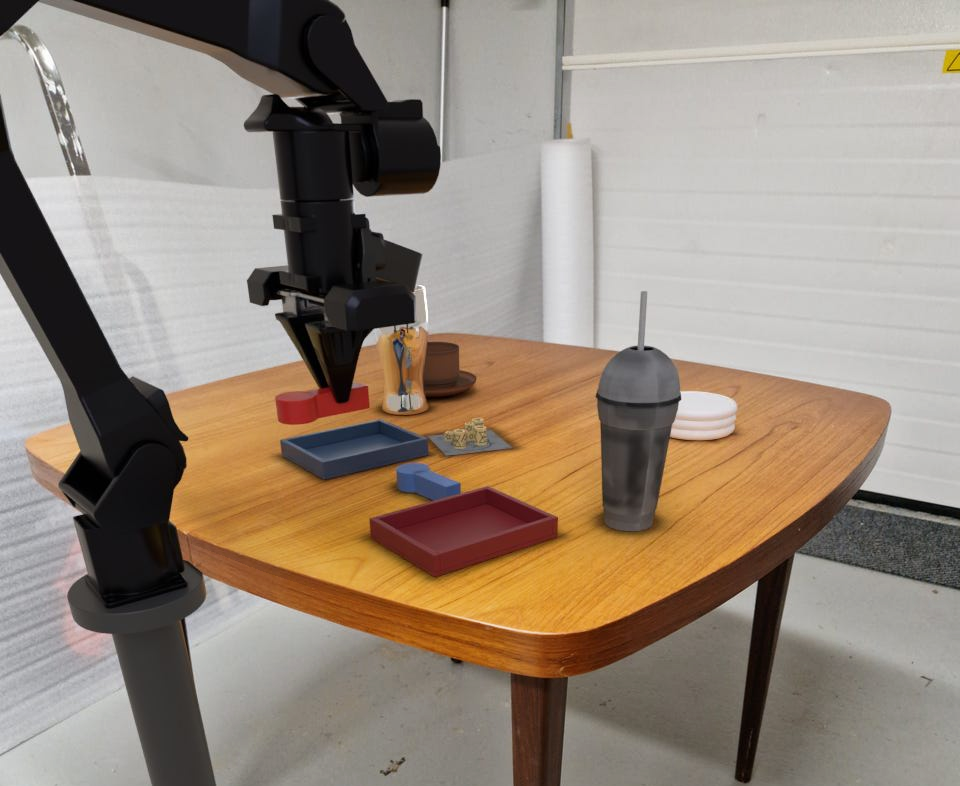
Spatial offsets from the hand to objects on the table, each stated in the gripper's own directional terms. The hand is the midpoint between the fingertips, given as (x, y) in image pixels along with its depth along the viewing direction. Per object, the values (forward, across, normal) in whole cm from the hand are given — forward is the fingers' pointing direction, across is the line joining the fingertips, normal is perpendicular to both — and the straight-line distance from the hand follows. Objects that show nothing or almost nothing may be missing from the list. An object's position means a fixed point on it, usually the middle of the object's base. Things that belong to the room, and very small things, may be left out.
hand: (336, 400), depth 75 cm
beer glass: (+11, +29, -25) cm, 40 cm away
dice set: (+11, +12, -23) cm, 28 cm away
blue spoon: (+11, 0, -10) cm, 15 cm away
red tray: (+11, -11, -6) cm, 16 cm away
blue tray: (+11, +16, -10) cm, 22 cm away
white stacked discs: (+11, -1, -47) cm, 48 cm away
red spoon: (+1, 0, +1) cm, 2 cm away
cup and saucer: (+11, +34, -33) cm, 49 cm away
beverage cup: (+11, -17, -20) cm, 28 cm away
